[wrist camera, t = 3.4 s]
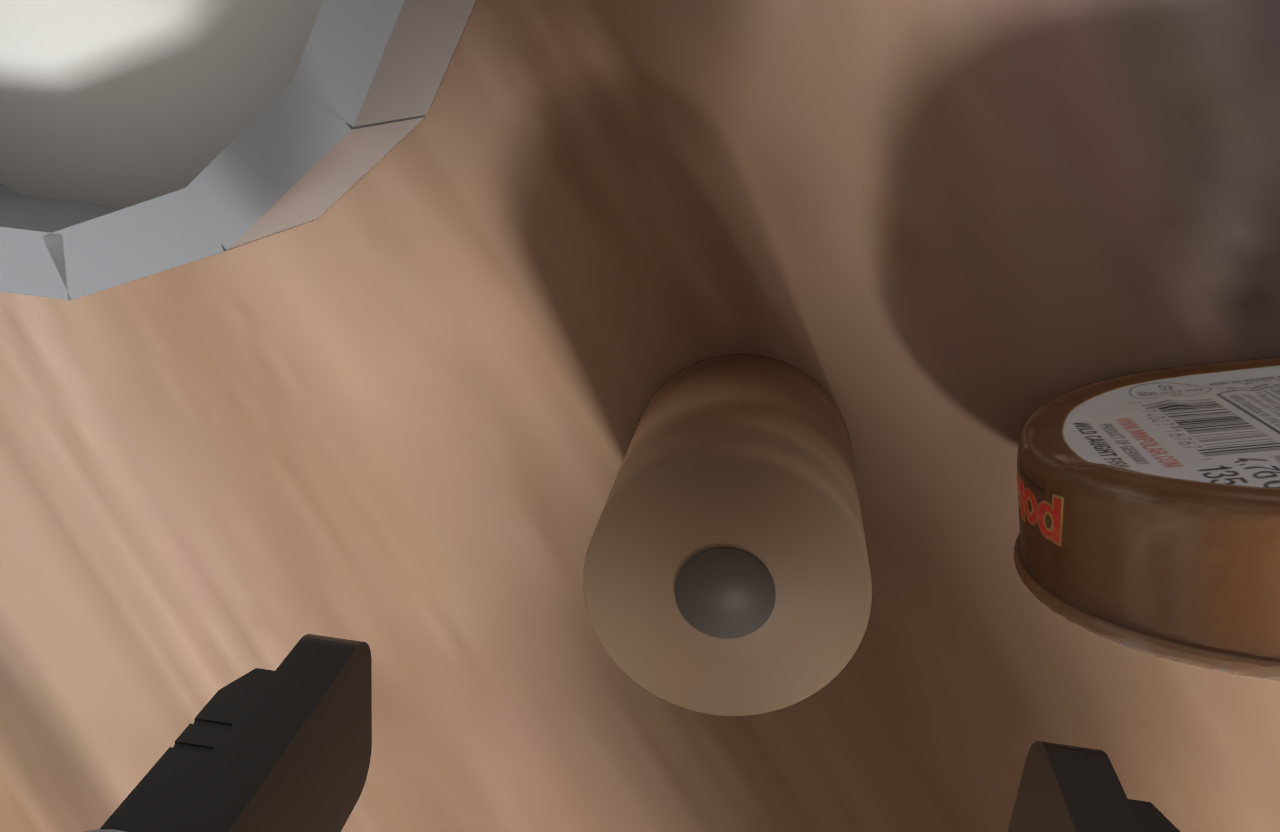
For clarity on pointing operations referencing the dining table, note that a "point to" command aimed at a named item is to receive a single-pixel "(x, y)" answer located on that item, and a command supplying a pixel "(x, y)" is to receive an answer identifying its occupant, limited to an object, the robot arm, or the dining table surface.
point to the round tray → (195, 124)
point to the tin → (1160, 512)
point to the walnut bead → (732, 542)
